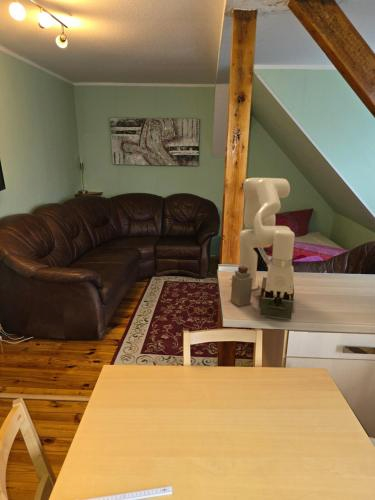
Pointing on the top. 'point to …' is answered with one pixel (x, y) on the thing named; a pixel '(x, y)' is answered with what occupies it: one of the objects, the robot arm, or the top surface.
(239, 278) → the perfume bottle
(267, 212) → the robot arm
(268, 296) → the drawer
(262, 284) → the cabinet
